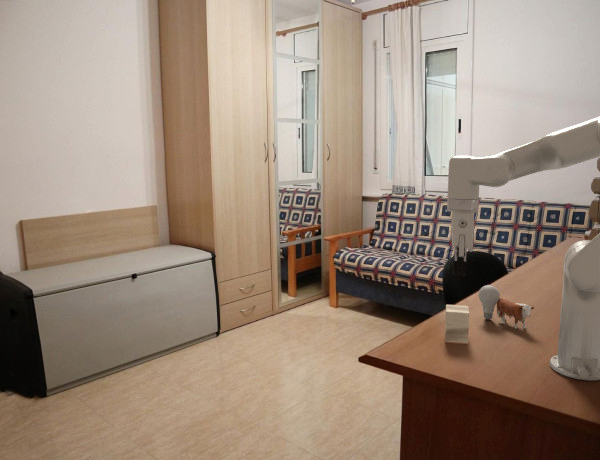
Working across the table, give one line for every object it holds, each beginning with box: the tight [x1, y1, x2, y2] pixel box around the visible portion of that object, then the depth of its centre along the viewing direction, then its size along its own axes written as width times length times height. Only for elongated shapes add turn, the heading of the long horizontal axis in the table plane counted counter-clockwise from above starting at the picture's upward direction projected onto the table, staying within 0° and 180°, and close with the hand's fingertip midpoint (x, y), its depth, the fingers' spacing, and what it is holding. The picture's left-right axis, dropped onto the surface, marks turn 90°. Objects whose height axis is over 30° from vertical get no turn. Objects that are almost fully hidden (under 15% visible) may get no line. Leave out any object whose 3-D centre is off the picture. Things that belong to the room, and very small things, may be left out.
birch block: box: [444, 304, 470, 345], centre depth 142 cm, size 6×6×9 cm
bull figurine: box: [496, 297, 535, 330], centre depth 151 cm, size 4×13×8 cm, turn 20°
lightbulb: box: [478, 284, 501, 321], centre depth 156 cm, size 6×6×11 cm
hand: (459, 275), depth 132 cm, fingers closed
